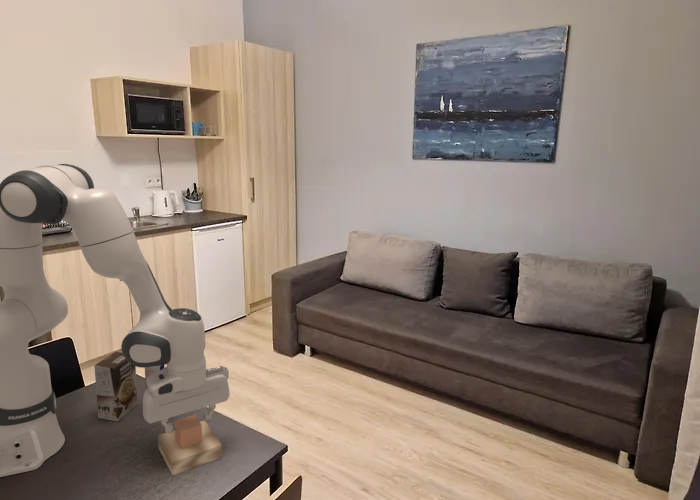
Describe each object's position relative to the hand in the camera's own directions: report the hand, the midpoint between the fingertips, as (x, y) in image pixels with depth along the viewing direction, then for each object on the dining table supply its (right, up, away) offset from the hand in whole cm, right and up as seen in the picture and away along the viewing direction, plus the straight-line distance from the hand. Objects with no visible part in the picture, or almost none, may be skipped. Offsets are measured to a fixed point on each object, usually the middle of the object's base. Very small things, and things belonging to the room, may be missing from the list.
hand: (188, 425), depth 117 cm
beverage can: (-15, -3, +19) cm, 24 cm away
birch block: (0, -8, +2) cm, 8 cm away
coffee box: (-26, -3, +17) cm, 31 cm away
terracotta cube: (0, -4, +1) cm, 4 cm away
